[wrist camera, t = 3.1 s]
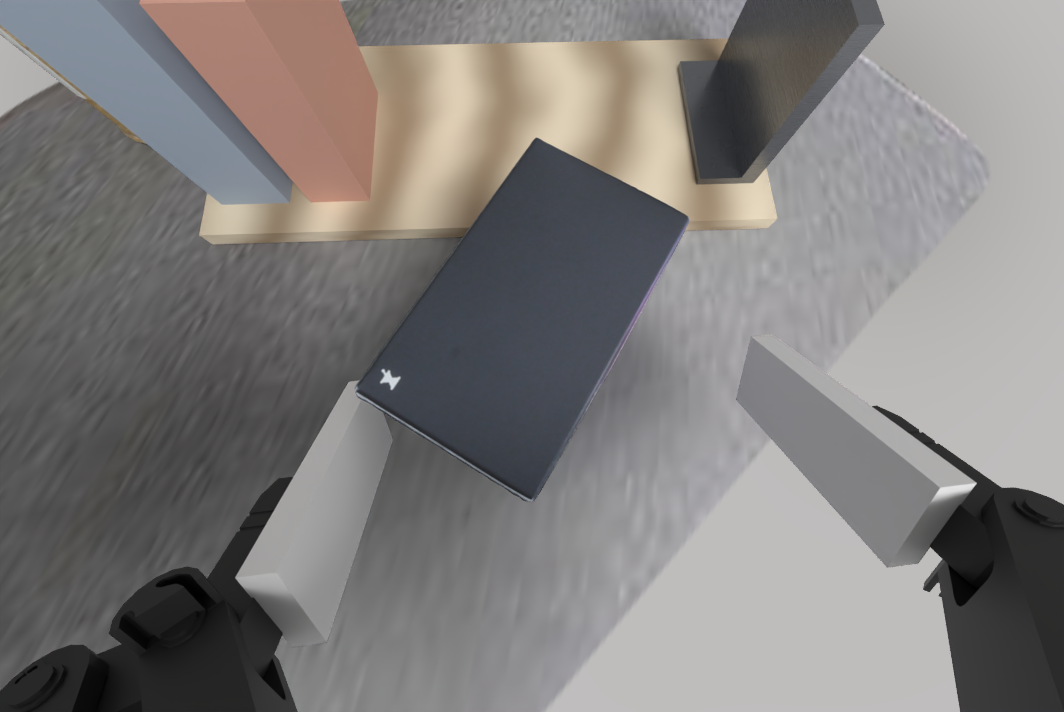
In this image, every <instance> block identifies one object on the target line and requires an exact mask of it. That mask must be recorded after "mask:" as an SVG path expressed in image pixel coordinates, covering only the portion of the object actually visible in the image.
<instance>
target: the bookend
mask: <svg viewBox="0 0 1064 712" xmlns="http://www.w3.org/2000/svg"><path fill="white" fill-rule="evenodd" d="M883 26H884V21H883V18H882V16H881V13H880V10H879V7H878V4H877V1H876V0H747V1H746V3H745V5H744V8H743V10H742V12H741V14H740V16H739V18H738V20H737V22H736V24H735V26H734V28H733V30H732V33H731V35H730V37H729V39H728V41H727V43H726V45H725V47H724V49H723V51H722V53H721V55H720V58H719V60H715V61H680V63H679V66H678V68H677V69H678V75H679V81H680V88H681V94H682V100H683V106H684V112H685V118H686V124H687V130H688V136H689V142H690V148H691V154H692V160H693V166H694V173H695V179H696V185H703V184H739V183H754V182H755V181H756V179H757V178H758V177H759V176H760V174H761V173H762V172H763V171H764V170H765V168H766V167H767V166H768V165H769V164H770V162H771V161H772V160H773V159H774V158H775V156H776V155H777V154H778V153H779V151H780V150H781V149H782V148H783V147H784V145H785V144H786V143H787V142H788V141H789V139H790V138H791V137H792V136H793V135H794V133H795V132H796V131H797V130H798V129H799V127H800V126H801V125H802V124H803V122H804V121H805V120H806V119H807V118H808V116H809V115H810V114H811V113H812V112H813V110H814V109H815V108H816V107H817V106H818V104H819V103H820V102H821V101H822V100H823V98H824V97H825V96H826V95H827V93H828V92H829V91H830V90H831V89H832V87H833V86H834V85H835V84H836V83H837V81H838V80H839V79H840V78H841V77H842V75H843V74H844V73H845V72H846V70H847V69H848V68H849V67H850V66H851V64H852V63H853V62H854V61H855V60H856V58H857V57H858V56H859V55H860V54H861V52H862V51H863V50H864V49H865V47H866V46H867V45H868V44H869V43H870V41H871V40H872V39H873V38H874V37H875V35H876V34H877V33H878V32H879V31H880V29H881V28H882V27H883Z"/></svg>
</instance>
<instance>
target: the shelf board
mask: <svg viewBox="0 0 1064 712" xmlns="http://www.w3.org/2000/svg"><path fill="white" fill-rule="evenodd" d="M727 41H728V39H690V40H643V41H595V42H548V43H501V44H454V45H406V46H359V49H360V51H361V54H362V56H363V59H364V61H365V63H366V66H367V68H368V70H369V73H370V75H371V78H372V80H373V82H374V85H375V87H376V90H377V92H378V102H377V115H376V129H375V142H374V155H373V168H372V181H371V195H370V201H344V202H310V201H309V199H308V198H307V197H306V196H305V195H304V194H303V193H302V191H301V190H300V189H299V188H298V187H297V186H296V184H295V183H294V182H293V184H292V191H291V198H290V203H271V204H235V205H222V204H220V203H219V202H218V201H217V200H215V199H214V198H213V197H212V196H210V195H209V194H208V193H207V197H206V203H205V208H204V213H203V218H202V223H201V228H200V233H199V236H201V237H202V238H204V239H205V240H207V241H208V242H210V243H211V244H243V243H278V242H312V241H346V240H381V239H415V238H449V237H463V236H464V235H465V233H466V232H467V231H468V229H469V228H470V226H471V225H472V224H473V222H474V221H475V220H476V218H477V217H478V215H479V214H480V213H481V211H482V210H483V209H484V207H485V206H486V204H487V203H488V202H489V200H490V199H491V198H492V196H493V195H494V193H495V192H496V191H497V189H498V188H499V187H500V185H501V184H502V182H503V181H504V180H505V178H506V177H507V176H508V174H509V173H510V171H511V170H512V169H513V167H514V166H515V164H516V163H517V162H518V160H519V159H520V158H521V156H522V155H523V154H524V152H525V151H526V150H527V148H528V147H529V145H530V144H531V143H532V141H533V140H534V139H535V138H539V139H541V140H543V141H544V142H546V143H548V144H550V145H552V146H554V147H556V148H558V149H560V150H562V151H564V152H566V153H568V154H570V155H572V156H574V157H576V158H578V159H580V160H582V161H584V162H586V163H588V164H590V165H592V166H594V167H596V168H598V169H600V170H602V171H603V172H605V173H607V174H609V175H611V176H614V177H616V178H618V179H620V180H622V181H623V182H625V183H627V184H629V185H631V186H633V187H636V188H637V189H638V190H640V191H643V192H645V193H647V194H649V195H651V196H652V197H654V198H656V199H658V200H660V201H662V202H664V203H666V204H668V205H670V206H672V207H673V208H675V209H677V210H678V211H680V212H682V213H684V214H685V215H687V216H688V217H689V218H690V222H689V224H688V226H687V228H686V230H685V231H689V230H724V229H758V228H768V227H769V226H770V225H771V224H772V223H773V222H774V221H776V220H777V214H776V210H775V205H774V201H773V196H772V192H771V187H770V182H769V178H768V173H767V169H766V168H765V170H764V171H763V172H762V173H761V174H760V176H759V177H758V178H757V179H756V181H755V182H754V183H739V184H703V185H696V179H695V173H694V166H693V160H692V154H691V148H690V142H689V136H688V130H687V124H686V118H685V112H684V106H683V100H682V94H681V88H680V81H679V75H678V69H677V68H678V66H679V63H680V61H715V60H719V58H720V55H721V53H722V51H723V49H724V47H725V45H726V43H727Z"/></svg>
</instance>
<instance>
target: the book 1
mask: <svg viewBox="0 0 1064 712" xmlns="http://www.w3.org/2000/svg"><path fill="white" fill-rule="evenodd" d="M139 2H140V0H0V25H1V26H2V27H4V28H5V29H6V30H7V31H8V32H10V33H11V34H12V35H13V36H15V37H16V38H17V39H18V40H20V41H21V42H22V43H23V44H24V45H26V46H27V47H28V48H29V49H31V50H32V51H33V52H34V53H36V54H37V55H38V56H39V57H41V58H42V59H43V60H44V61H45V62H47V63H48V64H49V65H50V66H52V67H53V68H54V69H55V70H57V71H58V72H59V73H60V74H61V75H63V76H64V77H65V78H66V79H68V80H69V81H70V82H71V83H73V84H74V85H75V86H76V87H77V88H79V89H80V90H81V91H82V92H84V93H85V94H86V95H87V96H89V97H90V98H91V99H92V100H93V101H95V102H96V103H97V104H98V105H100V106H101V107H102V108H103V109H105V110H106V111H107V112H108V113H109V114H111V115H112V116H113V117H114V118H116V119H117V120H118V121H119V122H121V123H122V124H123V125H124V126H125V127H127V128H128V129H129V130H130V131H132V132H133V133H134V134H135V135H137V136H138V137H139V138H140V139H141V140H143V141H144V142H145V143H146V144H148V145H149V146H150V147H151V148H153V149H154V150H155V151H156V152H158V153H159V154H160V155H161V156H162V157H164V158H165V159H166V160H167V161H169V162H170V163H171V164H172V165H174V166H175V167H176V168H177V169H178V170H180V171H181V172H182V173H183V174H185V175H186V176H187V177H188V178H190V179H191V180H192V181H193V182H194V183H196V184H197V185H198V186H199V187H201V188H202V189H203V190H204V191H206V192H207V193H208V194H209V195H210V196H212V197H213V198H214V199H215V200H217V201H218V202H219V203H220V204H222V205H235V204H271V203H290V198H291V191H292V184H293V181H292V180H291V179H290V178H289V176H288V175H287V174H286V173H285V172H284V171H283V169H282V168H281V167H280V166H279V165H278V164H277V163H276V161H275V160H274V159H273V158H272V157H271V156H270V154H269V153H268V152H267V151H266V150H265V149H264V148H263V146H262V145H261V144H260V143H259V142H258V141H257V139H256V138H255V137H254V136H253V135H252V134H251V133H250V131H249V130H248V129H247V128H246V127H245V126H244V124H243V123H242V122H241V121H240V120H239V119H238V118H237V116H236V115H235V114H234V113H233V112H232V111H231V109H230V108H229V107H228V106H227V105H226V104H225V102H224V101H223V100H222V99H221V98H220V97H219V96H218V94H217V93H216V92H215V91H214V90H213V89H212V87H211V86H210V85H209V84H208V83H207V82H206V81H205V79H204V78H203V77H202V76H201V75H200V74H199V72H198V71H197V70H196V69H195V68H194V67H193V66H192V64H191V63H190V62H189V61H188V60H187V59H186V57H185V56H184V55H183V54H182V53H181V52H180V51H179V49H178V48H177V47H176V46H175V45H174V44H173V42H172V41H171V40H170V39H169V38H168V37H167V36H166V34H165V33H164V32H163V31H162V30H161V29H160V27H159V26H158V25H157V24H156V23H155V22H154V21H153V19H152V18H151V17H150V16H149V15H148V14H147V12H146V11H145V10H144V9H143V8H142V7H141V5H140V4H139Z"/></svg>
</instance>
